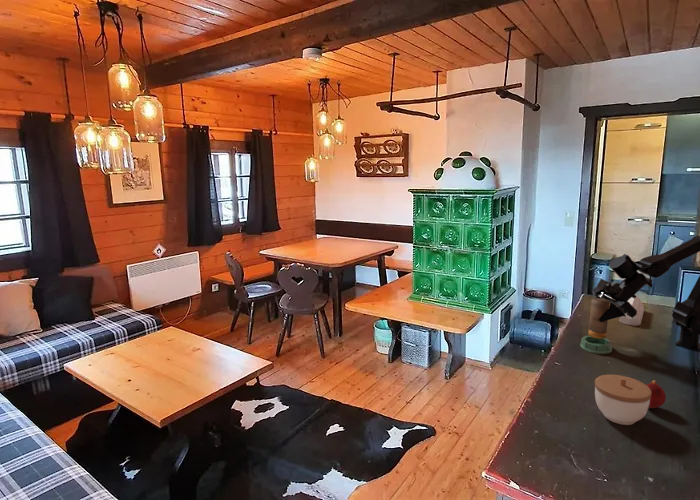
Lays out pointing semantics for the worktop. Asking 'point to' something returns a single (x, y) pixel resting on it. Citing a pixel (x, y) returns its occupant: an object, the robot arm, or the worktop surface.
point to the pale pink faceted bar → (637, 318)
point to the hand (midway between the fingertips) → (595, 318)
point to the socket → (596, 345)
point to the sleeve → (597, 310)
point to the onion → (656, 395)
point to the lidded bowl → (622, 398)
